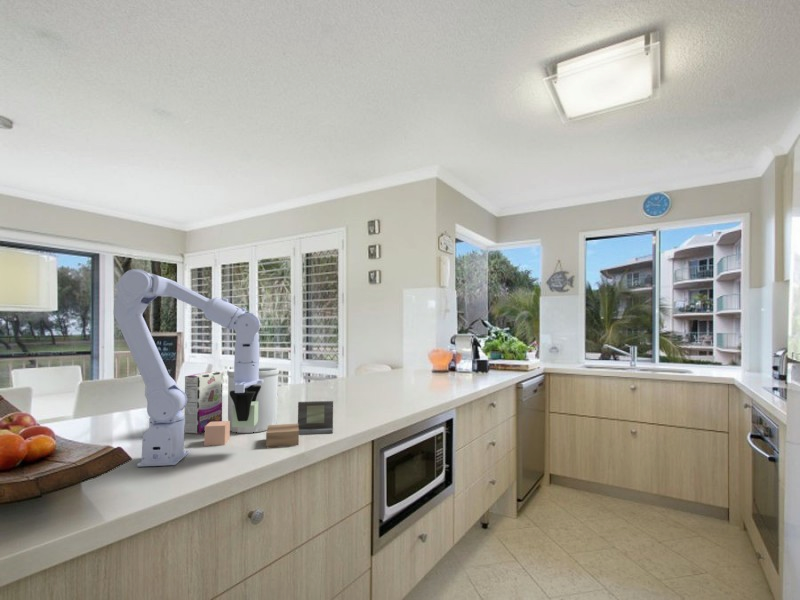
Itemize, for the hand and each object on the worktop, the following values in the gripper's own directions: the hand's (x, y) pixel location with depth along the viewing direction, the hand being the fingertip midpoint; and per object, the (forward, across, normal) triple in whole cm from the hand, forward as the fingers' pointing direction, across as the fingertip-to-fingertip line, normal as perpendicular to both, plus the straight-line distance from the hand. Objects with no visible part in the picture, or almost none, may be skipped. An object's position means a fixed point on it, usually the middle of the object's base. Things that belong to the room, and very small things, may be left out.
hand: (245, 418), depth 101 cm
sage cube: (+2, 0, 0) cm, 2 cm away
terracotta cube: (+8, +10, +9) cm, 16 cm away
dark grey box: (+8, +18, -16) cm, 25 cm away
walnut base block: (+9, +8, -8) cm, 14 cm away
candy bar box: (+9, +25, +17) cm, 31 cm away
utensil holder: (+9, +25, +3) cm, 27 cm away
